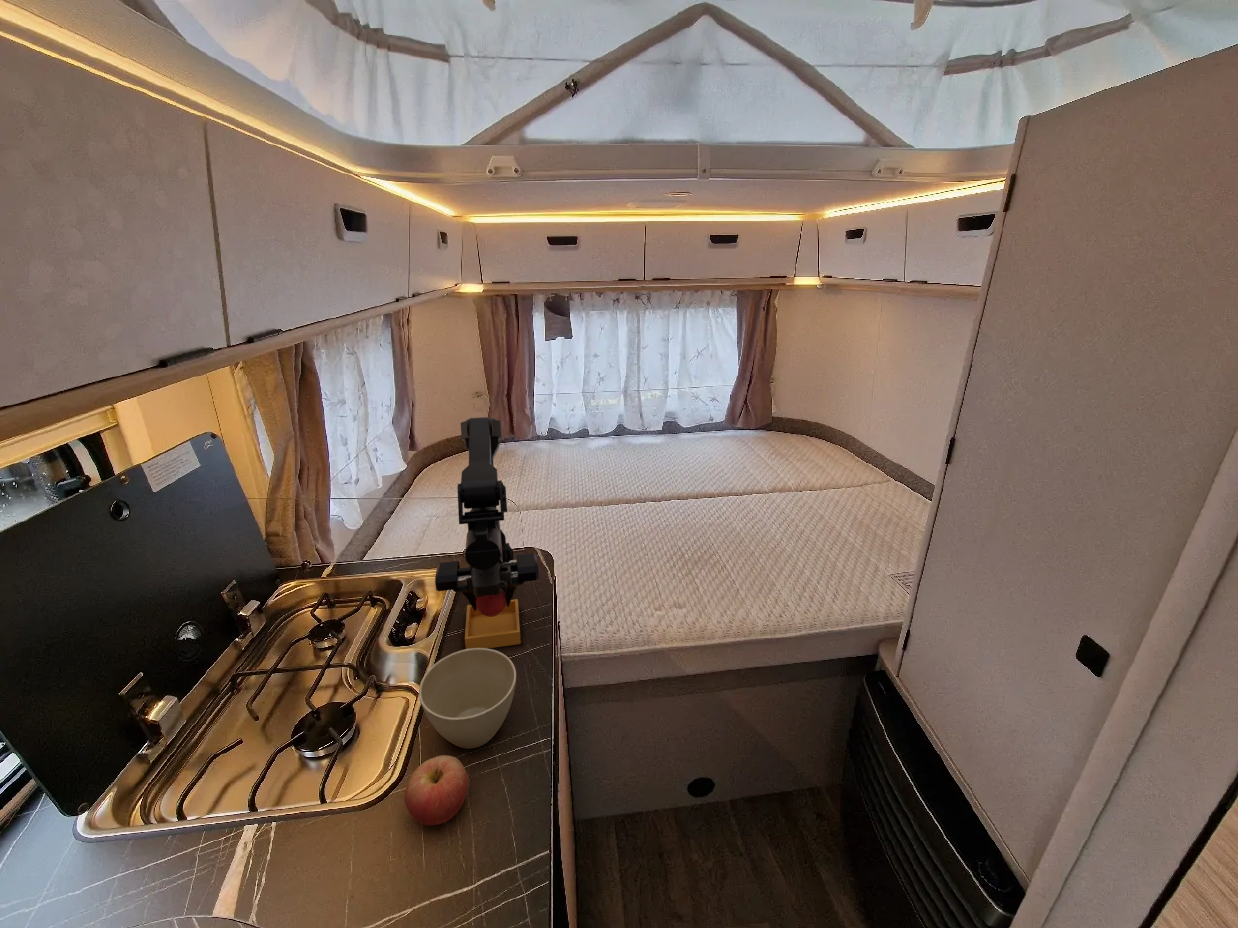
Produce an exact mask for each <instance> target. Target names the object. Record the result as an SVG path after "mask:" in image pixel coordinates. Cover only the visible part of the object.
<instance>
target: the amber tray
mask: <svg viewBox="0 0 1238 928" xmlns="http://www.w3.org/2000/svg"><path fill="white" fill-rule="evenodd" d="M519 611H520V610H519V600H518V598H515V599H514V598H513V599H511V602H510V605H509V607H507V603H506V605H505V607H504V609H503V611H502V612H500V613H499V614H498V615H496V616H493V617H489V616H485V615H483V614H482V613H480V612H479V610H478V609H477V610H476V611H474V609H473V608H472V606H471V604H467V606H466V615H465V630H464V644H465V649H471V648H487V649H494V648H501V647H508V646H515V645H521V643H522V640H521V639H522V638H521V627H520V613H519Z"/></svg>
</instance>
